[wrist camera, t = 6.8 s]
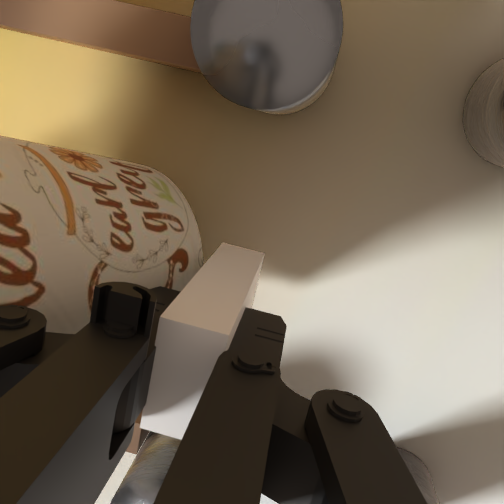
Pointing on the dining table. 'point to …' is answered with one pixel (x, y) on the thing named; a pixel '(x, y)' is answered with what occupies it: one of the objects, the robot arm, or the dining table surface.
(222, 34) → the spacer field
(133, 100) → the dining table surface
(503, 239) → the dining table surface
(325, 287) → the dining table surface
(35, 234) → the mug
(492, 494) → the dining table surface
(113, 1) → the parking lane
